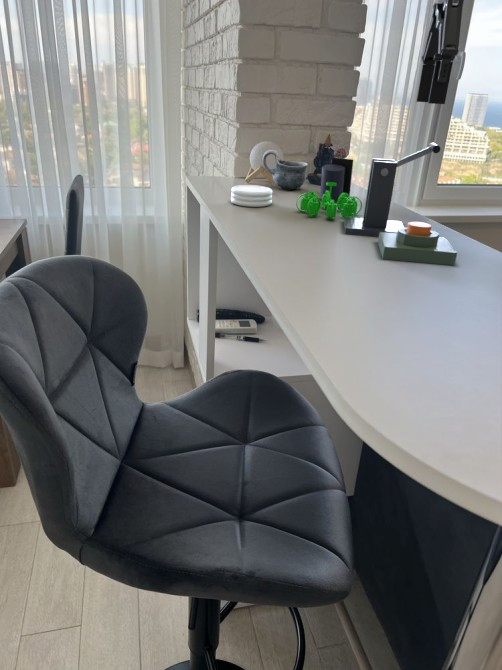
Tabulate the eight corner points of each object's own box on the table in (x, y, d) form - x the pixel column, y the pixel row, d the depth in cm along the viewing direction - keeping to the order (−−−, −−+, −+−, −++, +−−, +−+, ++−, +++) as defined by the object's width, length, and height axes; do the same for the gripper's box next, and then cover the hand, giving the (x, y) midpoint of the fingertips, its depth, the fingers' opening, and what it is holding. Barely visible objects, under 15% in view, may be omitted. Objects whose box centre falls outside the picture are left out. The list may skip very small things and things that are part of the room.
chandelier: (355, 208, 123) (359, 179, 120) (365, 223, 109) (370, 191, 106) (293, 205, 123) (296, 175, 120) (296, 219, 110) (299, 187, 106)
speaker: (331, 195, 136) (336, 155, 130) (349, 200, 132) (354, 159, 127) (314, 201, 131) (318, 160, 125) (332, 206, 127) (337, 164, 122)
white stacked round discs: (258, 209, 117) (259, 194, 115) (222, 203, 121) (223, 188, 119) (279, 203, 124) (280, 188, 123) (244, 197, 129) (245, 182, 127)
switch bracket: (399, 226, 109) (412, 159, 102) (406, 239, 100) (420, 166, 94) (343, 222, 110) (352, 155, 104) (344, 233, 101) (354, 161, 95)
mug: (308, 192, 139) (312, 154, 134) (263, 190, 138) (265, 152, 133) (302, 186, 147) (305, 149, 143) (259, 184, 146) (261, 147, 142)
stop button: (427, 232, 91) (429, 222, 90) (431, 238, 87) (433, 227, 86) (404, 230, 91) (406, 220, 90) (407, 236, 88) (409, 226, 87)
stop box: (442, 248, 95) (447, 227, 93) (454, 265, 86) (459, 242, 84) (377, 243, 96) (381, 222, 94) (382, 259, 87) (386, 236, 85)
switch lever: (437, 150, 99) (433, 138, 98) (442, 153, 94) (438, 141, 94) (377, 176, 102) (373, 165, 102) (379, 180, 98) (375, 169, 97)
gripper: (420, -23, 96) (400, 100, 106) (447, -56, 74) (419, 103, 83) (460, -22, 95) (437, 102, 105) (500, -55, 73) (466, 105, 83)
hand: (429, 103), depth 94 cm, fingers open, 13 cm apart
